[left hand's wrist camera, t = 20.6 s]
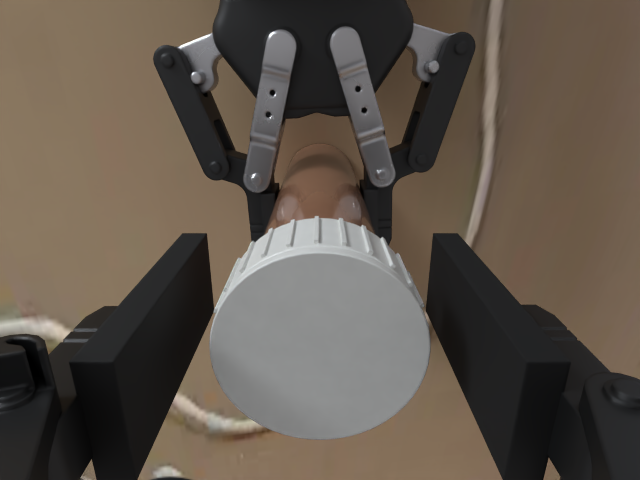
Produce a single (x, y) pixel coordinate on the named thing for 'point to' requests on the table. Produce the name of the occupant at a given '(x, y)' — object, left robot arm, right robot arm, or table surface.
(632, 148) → the table surface
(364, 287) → the lid
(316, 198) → the jar
